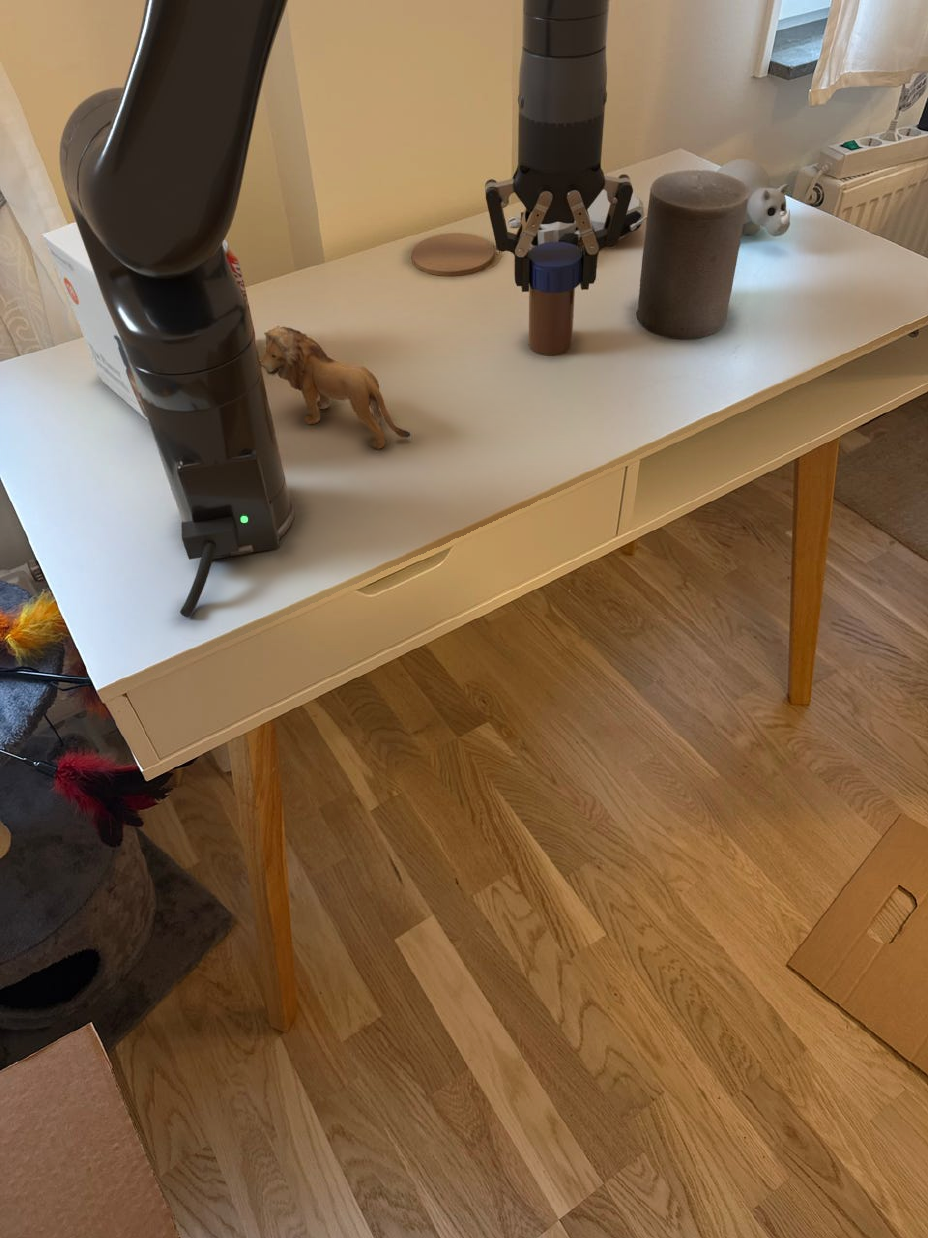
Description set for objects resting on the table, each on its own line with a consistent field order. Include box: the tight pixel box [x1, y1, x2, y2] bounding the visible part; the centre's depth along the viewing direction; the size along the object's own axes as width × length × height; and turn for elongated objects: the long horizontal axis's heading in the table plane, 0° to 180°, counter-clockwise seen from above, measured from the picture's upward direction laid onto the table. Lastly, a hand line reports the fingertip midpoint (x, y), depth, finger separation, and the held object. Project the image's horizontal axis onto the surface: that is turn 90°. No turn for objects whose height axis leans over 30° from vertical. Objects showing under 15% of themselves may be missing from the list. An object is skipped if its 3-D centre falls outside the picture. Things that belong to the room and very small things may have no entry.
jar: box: [527, 284, 576, 356], centre depth 95 cm, size 5×5×9 cm
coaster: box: [411, 232, 495, 277], centre depth 113 cm, size 10×10×1 cm
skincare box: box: [42, 221, 148, 422], centre depth 86 cm, size 21×5×16 cm, turn 42°
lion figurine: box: [259, 325, 412, 450], centre depth 87 cm, size 15×5×9 cm, turn 66°
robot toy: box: [507, 189, 647, 247], centre depth 113 cm, size 12×4×15 cm
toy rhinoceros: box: [716, 158, 791, 237], centre depth 110 cm, size 7×12×8 cm, turn 29°
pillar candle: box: [636, 169, 751, 340], centre depth 96 cm, size 10×10×15 cm
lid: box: [529, 242, 583, 293], centre depth 92 cm, size 5×5×3 cm
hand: (554, 286), depth 93 cm, fingers closed on lid, 5 cm apart
